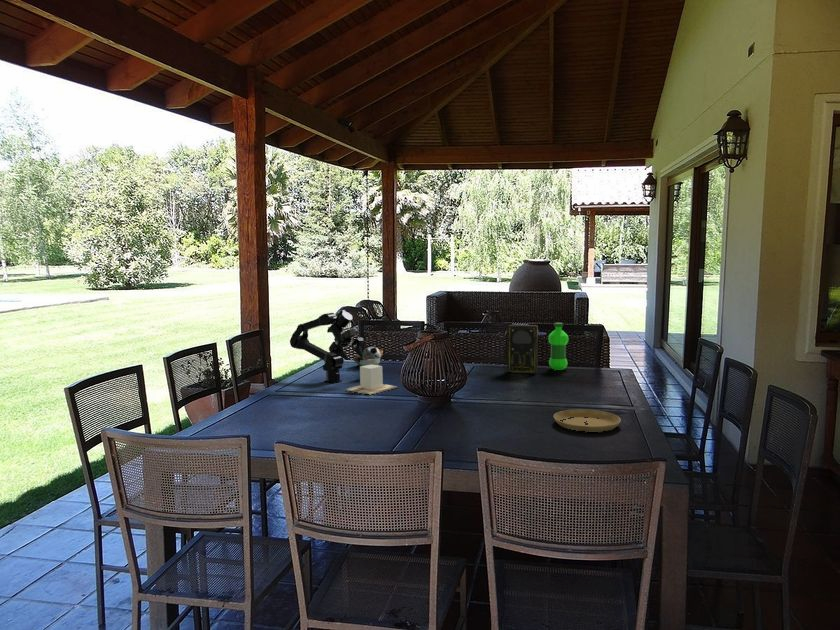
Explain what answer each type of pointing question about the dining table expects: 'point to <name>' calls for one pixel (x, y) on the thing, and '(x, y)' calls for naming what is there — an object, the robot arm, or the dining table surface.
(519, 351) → the voltmeter
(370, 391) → the header board
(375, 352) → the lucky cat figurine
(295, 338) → the robot arm
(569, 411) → the plant saucer
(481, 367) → the dining table surface
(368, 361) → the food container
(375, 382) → the block
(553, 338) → the plastic bottle
